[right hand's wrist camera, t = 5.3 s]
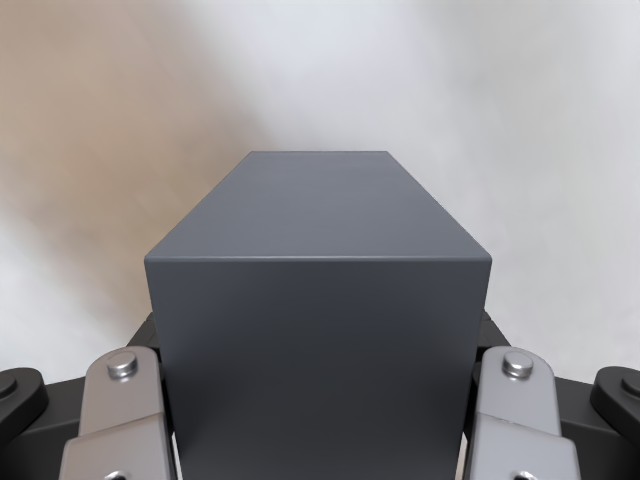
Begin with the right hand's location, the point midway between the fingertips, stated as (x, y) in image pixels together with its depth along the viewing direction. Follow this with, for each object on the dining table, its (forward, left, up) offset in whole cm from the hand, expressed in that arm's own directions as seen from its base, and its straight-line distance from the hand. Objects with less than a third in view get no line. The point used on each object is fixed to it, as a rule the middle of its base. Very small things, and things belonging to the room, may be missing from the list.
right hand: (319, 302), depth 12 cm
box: (+2, +9, -7) cm, 11 cm away
